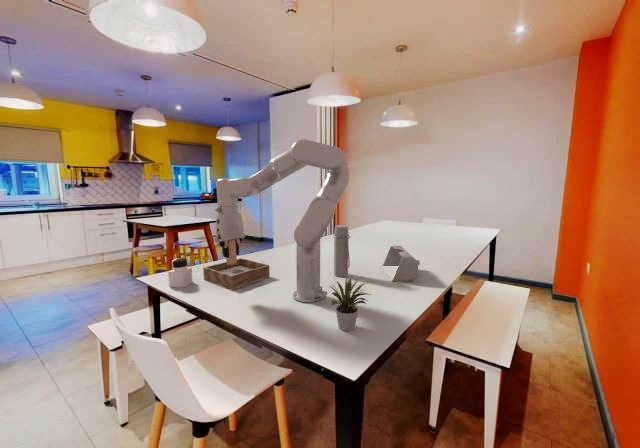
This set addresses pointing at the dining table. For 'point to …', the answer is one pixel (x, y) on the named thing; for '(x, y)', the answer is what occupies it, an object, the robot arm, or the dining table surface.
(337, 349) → the dining table surface
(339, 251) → the water bottle
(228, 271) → the bore plate
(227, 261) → the peg
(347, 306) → the house plant
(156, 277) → the dining table surface
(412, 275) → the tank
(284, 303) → the dining table surface
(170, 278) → the medicine bottle
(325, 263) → the dining table surface
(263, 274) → the open box
